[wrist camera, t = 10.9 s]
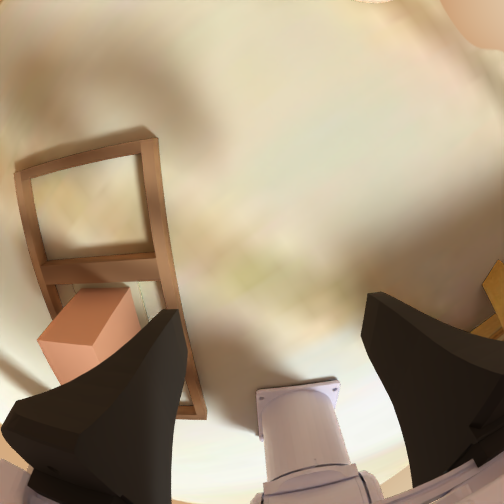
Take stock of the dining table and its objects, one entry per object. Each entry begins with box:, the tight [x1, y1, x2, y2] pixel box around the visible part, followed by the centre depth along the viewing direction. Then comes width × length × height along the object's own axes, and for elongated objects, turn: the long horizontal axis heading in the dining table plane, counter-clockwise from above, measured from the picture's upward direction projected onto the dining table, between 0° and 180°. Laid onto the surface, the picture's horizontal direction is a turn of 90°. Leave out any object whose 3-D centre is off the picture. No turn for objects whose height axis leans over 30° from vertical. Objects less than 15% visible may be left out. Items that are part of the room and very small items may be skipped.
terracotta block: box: [37, 287, 141, 385], centre depth 17 cm, size 4×4×7 cm
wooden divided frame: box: [14, 138, 207, 420], centre depth 20 cm, size 25×12×1 cm, turn 3°
